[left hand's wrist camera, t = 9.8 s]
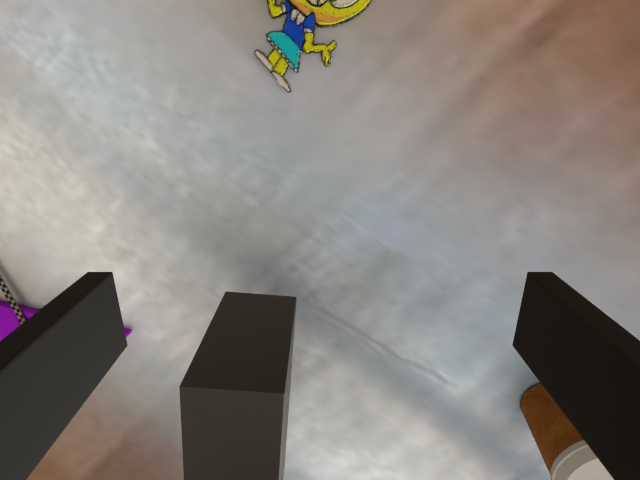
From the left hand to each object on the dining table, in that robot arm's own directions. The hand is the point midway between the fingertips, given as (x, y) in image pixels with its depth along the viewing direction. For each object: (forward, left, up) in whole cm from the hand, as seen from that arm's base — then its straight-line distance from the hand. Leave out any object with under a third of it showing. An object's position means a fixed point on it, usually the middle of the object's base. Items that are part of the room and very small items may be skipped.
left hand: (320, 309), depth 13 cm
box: (+1, +21, -20) cm, 29 cm away
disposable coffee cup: (-37, +23, -30) cm, 53 cm away
